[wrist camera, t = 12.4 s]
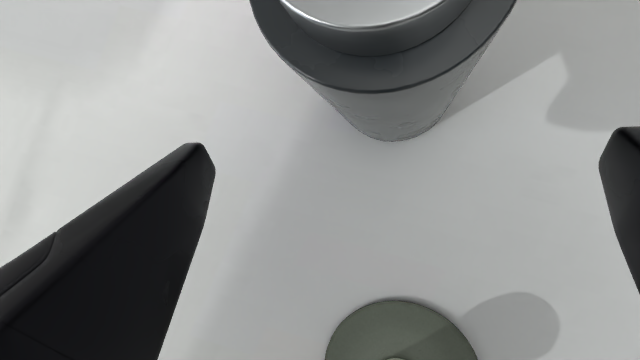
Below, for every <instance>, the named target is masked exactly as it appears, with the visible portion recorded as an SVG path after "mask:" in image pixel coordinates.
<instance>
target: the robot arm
mask: <svg viewBox="0 0 640 360" xmlns="http://www.w3.org/2000/svg"><path fill="white" fill-rule="evenodd" d="M599 172H600V176H601V180H602V184H603V188H604V192H605V196H606V200H607V204H608V207H609V211H610V215H611V219H612V223H613V227H614V230H615V233H616V236H617V239H618V242H619V244H620V247H621V249H622V252H623V254H624V257H625V259H626V262H627V264H628V267H629V269H630V272H631V274H632V277H633V279H634V281H635V284H636V286H637V289H638V291H639V294H640V126H637V127H620V128H618V129H616V130H615V131H614V132H613V134H612V135H611V137H610V139H609V141H608V143H607V145H606V147H605V149H604V151H603V153H602V155H601V157H600V160H599ZM214 179H215V166H214V164H213V162H212V160H211V158H210V156H209V154H208V152H207V151H206V149H205V147H204V145H203V144H201V143H186V144H183V145H182V146H180V147H179V148H177V149H176V150H175V151H173V152H172V153H170V154H169V155H167V156H166V157H164V158H163V159H161V160H160V161H158V162H157V163H155V164H154V165H152V166H151V167H150V168H148V169H147V170H145V171H144V172H142V173H141V174H139V175H138V176H136V177H135V178H133V179H132V180H130V181H129V182H127V183H126V184H125V185H123V186H122V187H120V188H119V189H117V190H116V191H114V192H113V193H111V194H110V195H108V196H107V197H105V198H104V199H103V200H101V201H100V202H98V203H97V204H95V205H94V206H92V207H91V208H89V209H88V210H86V211H85V212H83V213H82V214H80V215H79V216H78V217H76V218H75V219H73V220H72V221H70V222H69V223H67V224H66V225H64V226H63V227H61V228H60V229H58V231H57V232H54V233H52V234H51V235H49V236H48V237H47V238H45V239H44V240H42V241H41V242H39V243H38V244H36V245H35V246H33V247H32V248H30V249H29V250H27V251H26V252H24V253H23V254H21V255H20V256H18V257H17V258H15V259H13V260H12V261H10V262H9V263H7V264H5V265H4V266H2V267H1V268H0V360H157V359H158V356H159V354H160V351H161V348H162V345H163V342H164V339H165V336H166V333H167V330H168V328H169V325H170V322H171V319H172V316H173V313H174V310H175V307H176V305H177V302H178V299H179V296H180V293H181V290H182V287H183V284H184V281H185V279H186V276H187V273H188V270H189V267H190V264H191V261H192V258H193V255H194V253H195V250H196V247H197V244H198V241H199V238H200V235H201V232H202V229H203V226H204V222H205V218H206V214H207V210H208V205H209V201H210V196H211V192H212V188H213V183H214Z"/></svg>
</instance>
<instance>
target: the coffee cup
mask: <svg viewBox="0 0 640 360" xmlns="http://www.w3.org/2000/svg"><path fill="white" fill-rule="evenodd" d="M325 360H477V357H476V355H475V353H474V350H473V349H472V347H471V345H470V344H469V342H468V341H467V339H466V338H465V337H464V335H463V334H462V333H461V332H460V331H459V330H458V329H457V328H456V327H455V326H454V325H453V324H452V323H451V322H450V321H448V320H447V319H446V318H444V317H443V316H441V315H440V314H438V313H436V312H435V311H433V310H431V309H428V308H426V307H424V306H421V305H418V304H414V303H409V302H403V301H385V302H379V303H374V304H371V305H368V306H365V307H363V308H361V309H359V310H357V311H355V312H354V313H352V314H351V315H349V316H348V317H347V318H346V319H345V320H344V321H343V322H342V323H341V324H340V325H339V326H338V328H337V329H336V331H335V332H334V334H333V335H332V337H331V340H330V342H329V345H328V348H327V351H326V356H325Z"/></svg>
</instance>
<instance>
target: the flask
mask: <svg viewBox="0 0 640 360" xmlns="http://www.w3.org/2000/svg"><path fill="white" fill-rule="evenodd" d="M249 1H250V4H251V7H252V11H253V14H254V17H255V19H256V22H257V24H258V26H259V28H260V30H261V32H262V34H263V35H264V37H265V39H266V40H267V42H268V43H269V45H270V46H271V47H272V49H273V50H274V51H275V52H276V53H277V54H278V56H279V57H280V58H281V59H282V60H283V61H284V62H285V63H286V64H287V65H288V66H290V67H291V68H292V69H293V70H294V71H295V72H296V73H297V74H298V75H299V76H300V77H301V78H302V79H304V80H305V81H306V82H307V83H308V84H309V85H310V86H311V87H312V88H313V89H314V90H315V91H316V92H318V93H319V94H320V95H321V96H322V97H323V98H324V99H325V100H326V101H327V102H328V103H329V104H330V105H332V106H333V107H334V108H335V109H336V110H337V111H338V112H339V113H340V114H341V115H342V116H343V117H344V118H345V119H347V120H348V121H349V122H350V123H351V124H352V125H353V126H354V127H355V128H356V129H358V130H359V131H360V132H362V133H363V134H365V135H367V136H369V137H371V138H374V139H377V140H382V141H391V142H394V141H403V140H408V139H411V138H414V137H416V136H418V135H420V134H422V133H424V132H425V131H427V130H428V129H429V128H431V127H432V126H433V125H434V124H435V123H436V122H437V121H438V120H439V119H440V117H441V116H442V115H443V113H444V112H445V110H446V109H447V107H448V106H449V104H450V103H451V101H452V100H453V98H454V97H455V95H456V94H457V92H458V91H459V89H460V88H461V86H462V85H463V83H464V82H465V80H466V79H467V77H468V76H469V74H470V73H471V71H472V70H473V68H474V67H475V65H476V64H477V62H478V61H479V59H480V58H481V56H482V55H483V53H484V52H485V50H486V49H487V47H488V45H489V44H490V42H491V41H492V39H493V38H494V36H495V35H496V33H497V32H498V30H499V29H500V27H501V26H502V24H503V23H504V21H505V20H506V18H507V17H508V15H509V14H510V12H511V10H512V9H513V7H514V5H515V3H516V1H517V0H249Z"/></svg>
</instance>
